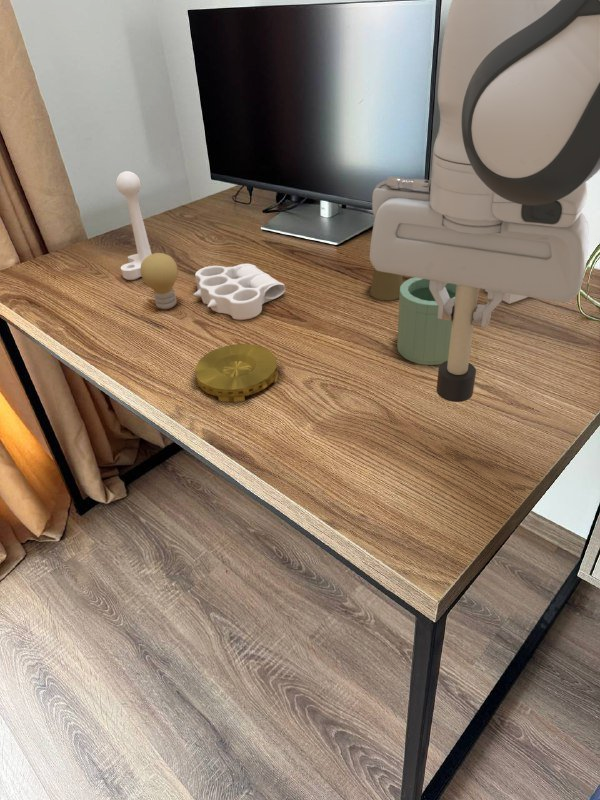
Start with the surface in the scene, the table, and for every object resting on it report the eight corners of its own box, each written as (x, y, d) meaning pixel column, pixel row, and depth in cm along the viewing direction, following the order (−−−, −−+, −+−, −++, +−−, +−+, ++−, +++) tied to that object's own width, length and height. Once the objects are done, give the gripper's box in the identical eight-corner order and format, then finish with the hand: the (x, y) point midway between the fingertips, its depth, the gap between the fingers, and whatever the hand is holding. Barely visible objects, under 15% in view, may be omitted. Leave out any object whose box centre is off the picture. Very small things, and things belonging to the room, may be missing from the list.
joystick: (168, 278, 117) (147, 175, 105) (132, 289, 114) (106, 184, 102) (150, 260, 125) (127, 163, 113) (115, 270, 122) (89, 171, 110)
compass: (294, 375, 87) (293, 363, 86) (230, 412, 81) (228, 400, 79) (243, 347, 94) (242, 335, 93) (181, 379, 88) (179, 367, 87)
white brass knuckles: (295, 302, 106) (224, 328, 99) (246, 270, 118) (180, 292, 112) (294, 285, 104) (221, 311, 97) (244, 254, 116) (177, 275, 110)
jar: (468, 339, 92) (475, 281, 86) (449, 370, 86) (456, 310, 80) (410, 327, 96) (413, 270, 90) (387, 356, 90) (390, 297, 84)
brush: (477, 386, 67) (496, 262, 58) (467, 405, 64) (485, 279, 55) (442, 378, 68) (456, 256, 59) (431, 396, 66) (443, 272, 57)
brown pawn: (364, 290, 108) (364, 232, 101) (392, 282, 110) (394, 225, 103) (381, 303, 103) (382, 243, 97) (410, 295, 105) (413, 235, 99)
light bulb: (165, 295, 111) (154, 245, 105) (191, 302, 108) (181, 250, 102) (142, 310, 107) (129, 258, 101) (168, 317, 104) (156, 264, 98)
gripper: (359, 184, 54) (359, 315, 63) (598, 210, 46) (561, 357, 54) (385, 165, 59) (381, 290, 67) (608, 185, 50) (572, 326, 59)
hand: (463, 321), depth 61 cm, fingers closed on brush, 2 cm apart
